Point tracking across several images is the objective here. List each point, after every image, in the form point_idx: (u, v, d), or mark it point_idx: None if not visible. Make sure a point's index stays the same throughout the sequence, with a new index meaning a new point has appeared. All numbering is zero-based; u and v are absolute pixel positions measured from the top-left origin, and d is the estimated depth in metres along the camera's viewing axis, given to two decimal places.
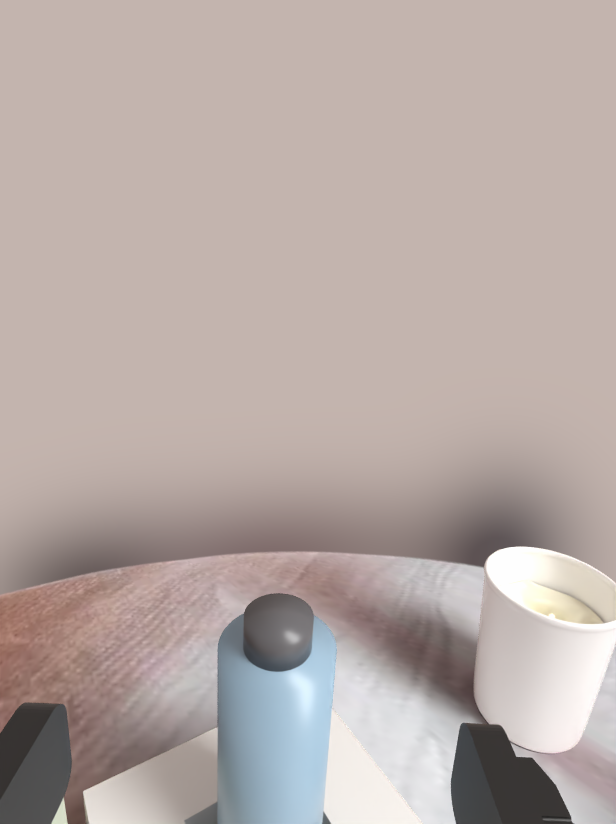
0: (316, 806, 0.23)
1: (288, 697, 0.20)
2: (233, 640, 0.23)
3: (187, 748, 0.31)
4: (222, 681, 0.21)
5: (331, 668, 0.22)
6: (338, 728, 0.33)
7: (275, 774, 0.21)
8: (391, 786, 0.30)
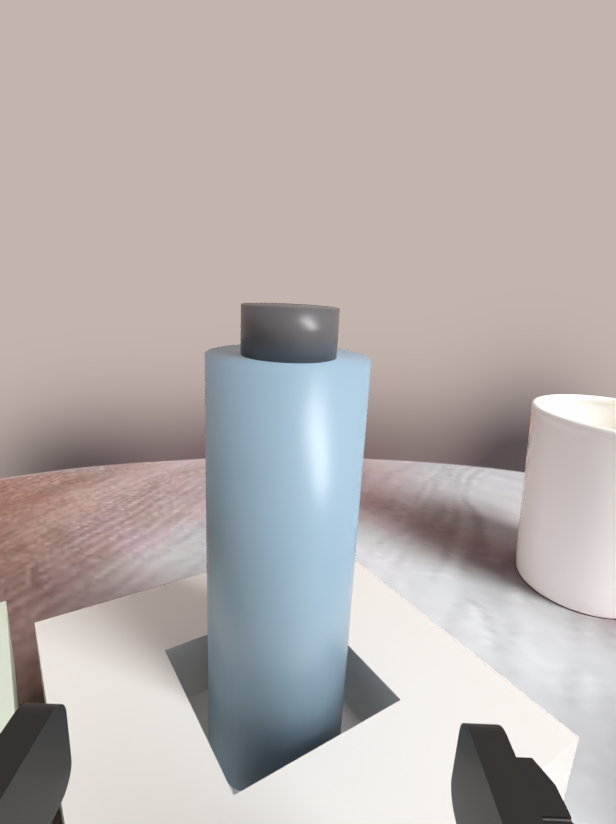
0: (343, 589, 0.17)
1: (307, 379, 0.14)
2: (227, 351, 0.16)
3: (172, 588, 0.25)
4: (211, 383, 0.15)
5: (366, 367, 0.15)
6: (360, 574, 0.27)
7: (287, 513, 0.15)
8: (432, 623, 0.23)
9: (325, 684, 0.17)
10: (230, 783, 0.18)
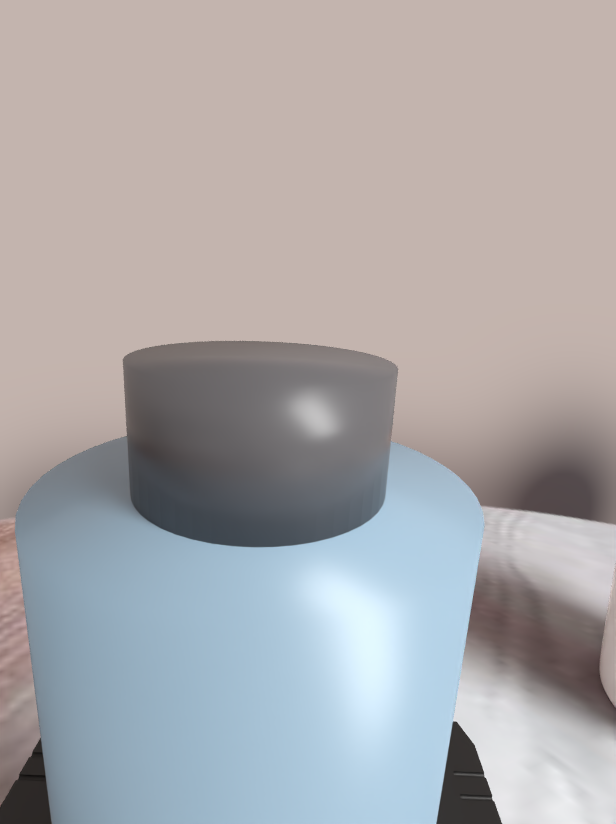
0: None
1: (310, 652, 0.04)
2: (104, 469, 0.06)
3: None
4: (23, 596, 0.05)
5: (480, 543, 0.05)
6: None
7: None
8: None
9: None
10: None
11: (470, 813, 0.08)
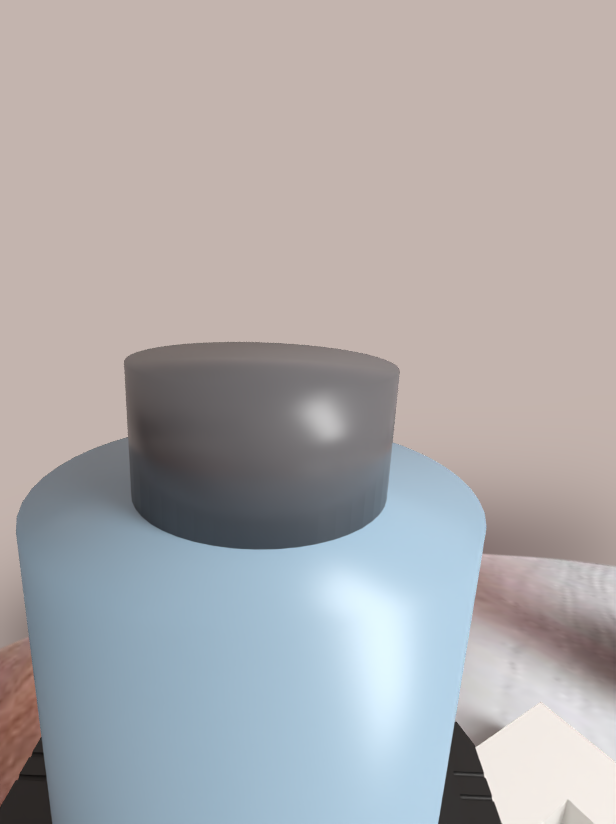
0: None
1: (311, 655, 0.04)
2: (105, 470, 0.06)
3: None
4: (24, 599, 0.05)
5: (482, 545, 0.05)
6: (601, 759, 0.28)
7: None
8: None
9: None
10: None
11: (470, 813, 0.08)
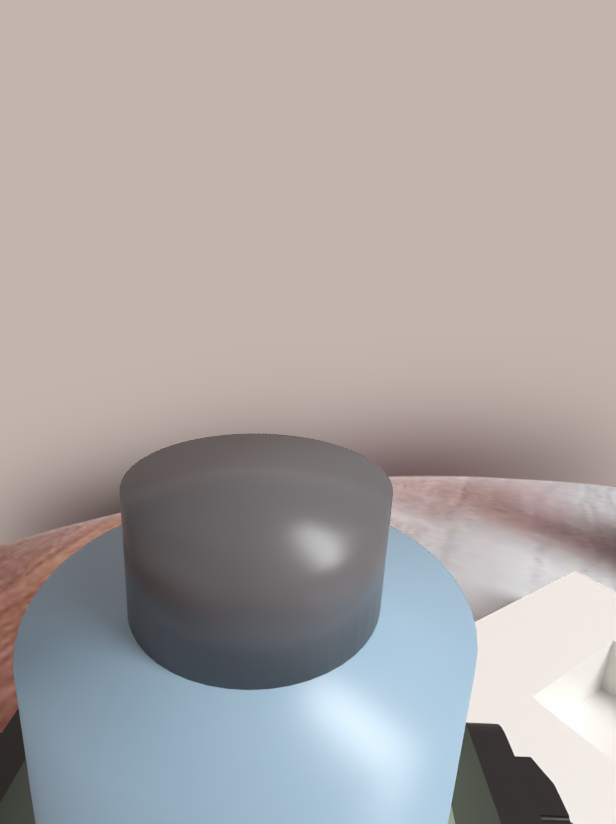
0: None
1: None
2: (102, 575, 0.06)
3: (480, 628, 0.25)
4: (22, 729, 0.05)
5: (473, 675, 0.05)
6: None
7: None
8: None
9: None
10: None
11: None
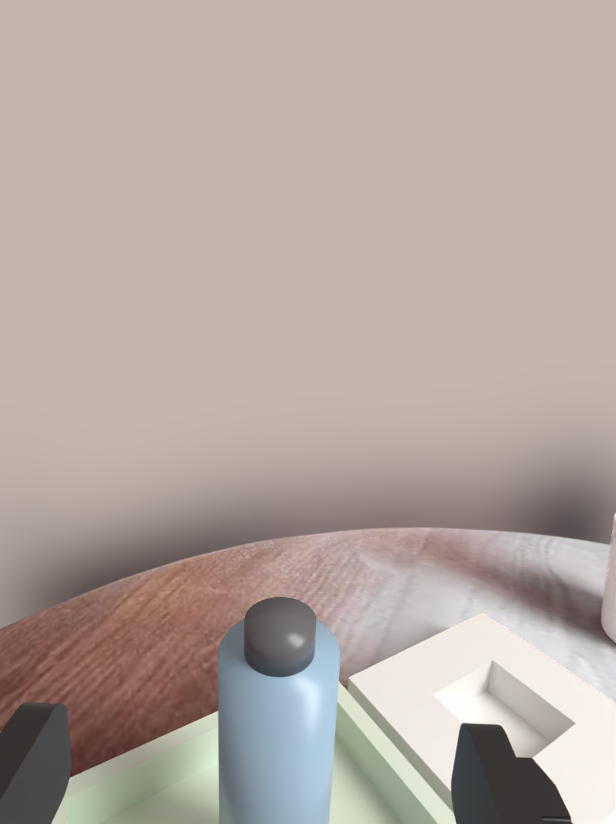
0: (321, 820, 0.22)
1: (291, 703, 0.19)
2: (234, 645, 0.22)
3: (410, 652, 0.41)
4: (222, 688, 0.21)
5: (335, 673, 0.21)
6: (518, 641, 0.42)
7: (278, 785, 0.20)
8: (575, 676, 0.39)
9: None
10: None
11: None
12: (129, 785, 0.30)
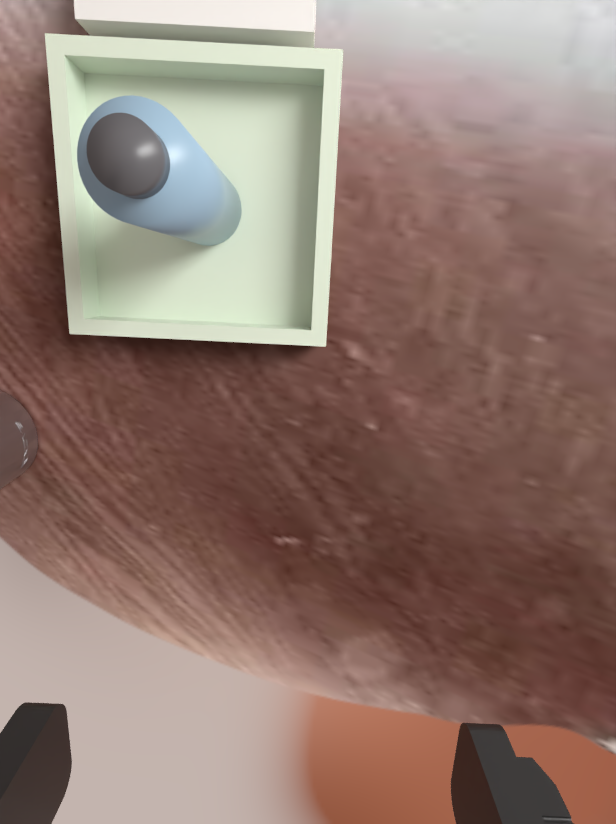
0: (220, 175, 0.30)
1: (193, 187, 0.23)
2: (111, 199, 0.23)
3: None
4: (143, 226, 0.24)
5: (186, 131, 0.22)
6: None
7: (207, 207, 0.27)
8: None
9: (232, 195, 0.34)
10: None
11: None
12: (87, 271, 0.38)
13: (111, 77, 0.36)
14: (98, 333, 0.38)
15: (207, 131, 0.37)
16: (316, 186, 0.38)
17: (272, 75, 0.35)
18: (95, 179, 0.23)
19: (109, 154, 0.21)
